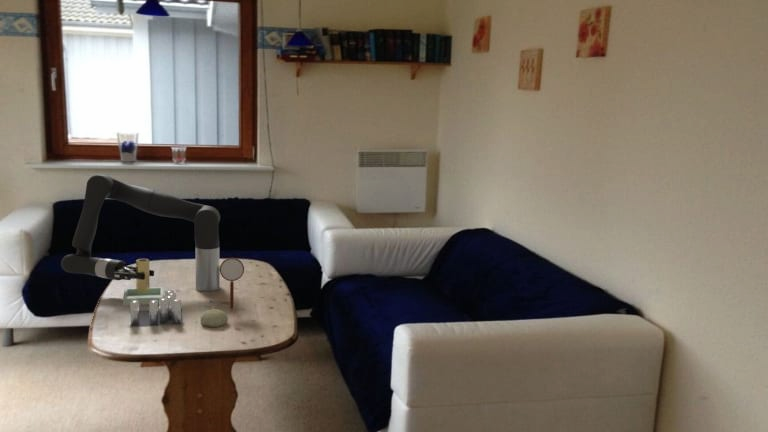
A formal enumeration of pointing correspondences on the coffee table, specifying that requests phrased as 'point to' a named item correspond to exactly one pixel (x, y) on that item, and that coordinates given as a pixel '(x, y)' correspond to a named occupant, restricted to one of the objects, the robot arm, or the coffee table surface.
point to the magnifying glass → (231, 274)
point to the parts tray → (142, 296)
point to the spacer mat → (145, 319)
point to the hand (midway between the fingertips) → (148, 275)
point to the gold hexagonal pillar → (143, 267)
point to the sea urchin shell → (213, 318)
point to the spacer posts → (167, 310)
